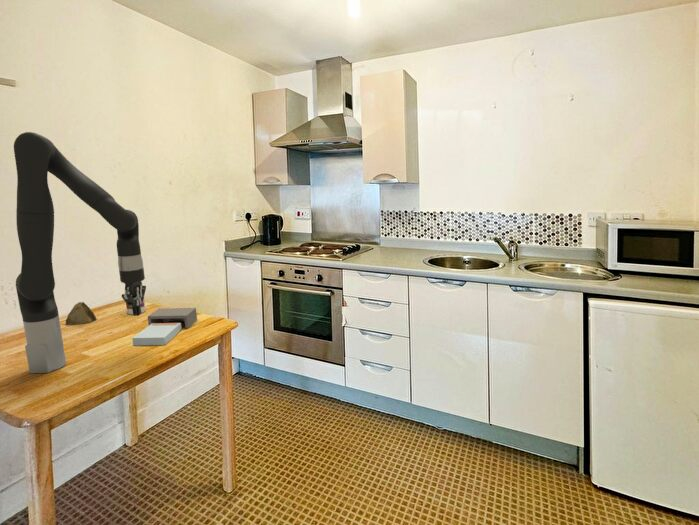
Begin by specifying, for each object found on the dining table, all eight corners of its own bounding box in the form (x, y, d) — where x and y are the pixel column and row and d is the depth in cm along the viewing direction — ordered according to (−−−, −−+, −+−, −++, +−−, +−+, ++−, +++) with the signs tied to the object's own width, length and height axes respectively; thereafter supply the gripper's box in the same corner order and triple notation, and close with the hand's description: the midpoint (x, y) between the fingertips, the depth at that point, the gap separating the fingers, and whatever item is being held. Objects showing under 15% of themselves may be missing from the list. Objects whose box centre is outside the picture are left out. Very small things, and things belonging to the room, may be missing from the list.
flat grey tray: (165, 344, 149) (164, 336, 148) (133, 345, 148) (132, 337, 148) (181, 329, 164) (180, 322, 164) (152, 330, 164) (151, 323, 163)
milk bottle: (128, 311, 190) (123, 270, 186) (145, 308, 193) (141, 269, 189) (126, 315, 183) (121, 273, 179) (145, 313, 186) (140, 272, 182)
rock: (56, 321, 168) (76, 319, 167) (62, 303, 172) (82, 301, 171) (77, 329, 178) (96, 327, 176) (82, 311, 182) (101, 309, 180)
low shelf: (188, 328, 166) (187, 315, 165) (148, 329, 165) (147, 316, 164) (197, 319, 176) (196, 307, 175) (160, 320, 176) (158, 308, 175)
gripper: (132, 271, 130) (139, 321, 134) (150, 263, 143) (156, 309, 147) (109, 272, 130) (116, 321, 133) (130, 264, 143) (135, 309, 146)
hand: (137, 315), depth 140 cm, fingers closed
